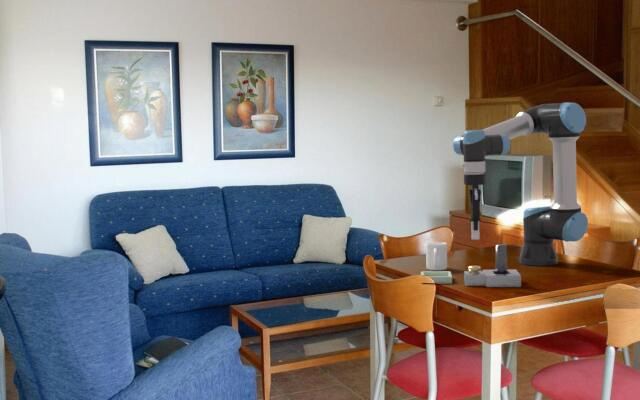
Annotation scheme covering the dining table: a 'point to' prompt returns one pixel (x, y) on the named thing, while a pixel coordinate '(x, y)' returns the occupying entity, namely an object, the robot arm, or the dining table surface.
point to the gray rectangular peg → (501, 258)
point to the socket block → (493, 278)
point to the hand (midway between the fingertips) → (475, 238)
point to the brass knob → (474, 269)
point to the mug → (436, 255)
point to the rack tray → (439, 276)
